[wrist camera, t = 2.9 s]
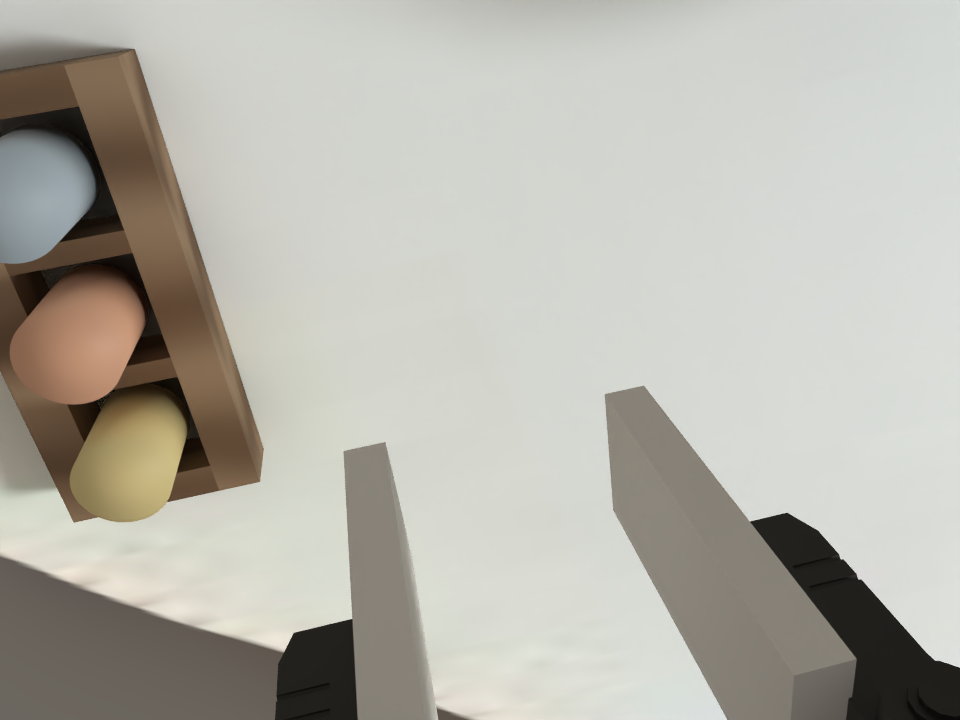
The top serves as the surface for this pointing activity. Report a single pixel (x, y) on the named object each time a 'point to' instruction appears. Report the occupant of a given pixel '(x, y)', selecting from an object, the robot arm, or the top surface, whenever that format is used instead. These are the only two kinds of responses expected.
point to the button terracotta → (80, 335)
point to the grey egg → (42, 189)
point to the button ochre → (131, 454)
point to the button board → (163, 268)
